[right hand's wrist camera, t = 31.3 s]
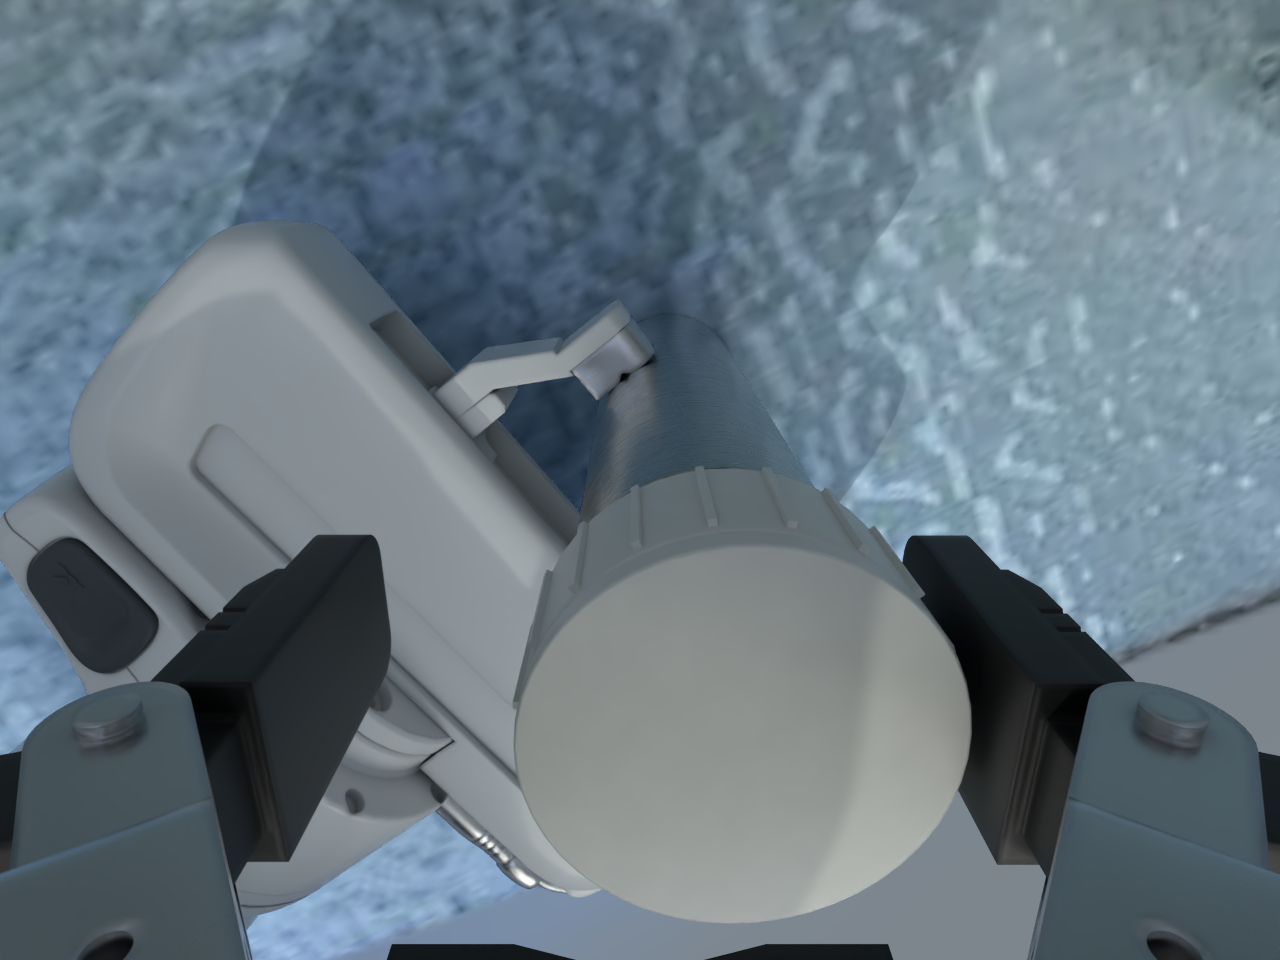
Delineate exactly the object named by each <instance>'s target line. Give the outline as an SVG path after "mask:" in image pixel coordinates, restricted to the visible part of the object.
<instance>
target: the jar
mask: <svg viewBox="0 0 1280 960" xmlns="http://www.w3.org/2000/svg"><path fill="white" fill-rule="evenodd" d="M638 324H639V325H640V327H641V328H642V329H643V331H644V332H645V333H646V335H647V336H648V337H649V339H650V340H651V341H652V343H653V344H654V346H655V347H654V350H655V353H654V355H653V356H652V357H651V358H650V359H649V360H648V361H647V362H646V363H645V364H644V365H642V366H641V367H640V368H638V369H637V370H635V371H633V372H632V373H622V374H621V378H620V381H619V384H618V385H617V386H616V387H614V388H613V389H612V390H610V391H609V392H608V393H606V394H605V395H604V396H603V397H601V398H600V400H599V406H598V412H597V418H596V424H595V430H594V436H593V442H592V448H591V454H590V460H589V466H588V472H587V478H586V484H585V490H584V496H583V502H582V508H581V514H580V520H579V525H580V524H581V523H582V522H583V521H585V522H586V523H587V524H588V523H589V522H590V521H591V520H592V519H593V518H594V517H595V516H596V515H598V514H599V513H600V512H602V511H603V510H604V509H605V508H607V507H608V506H609V505H611V504H612V503H613V502H615V501H617V500H619V499H620V498H622V497H624V496H625V495H627V494H629V493H630V491H631V487H633V486H635V485H637V484H638V485H639V487H640V488H641V487H643V486H646V485H648V484H650V483H653V482H655V481H658V480H661V479H664V478H668V477H671V476H675V475H678V474H682V473H687V472H694V471H695V467H698V466H703V467H704V470H707V469H733V468H736V469H746V470H757V471H762V468H763V467H766V468H771V469H772V471H773V473H774V474H777V475H781V476H785V477H788V478H791V479H794V480H796V481H799V482H802V483H805V484H807V485H810V486H812V487H813V488H814V486H813V484H812V483H811V481H810V480H809V478H808V476H807V475H806V473H805V472H804V470H803V468H802V467H801V465H800V464H799V462H798V461H797V459H796V457H795V456H794V454H793V453H792V451H791V449H790V448H789V446H788V445H787V443H786V441H785V440H784V438H783V437H782V435H781V433H780V432H779V430H778V429H777V427H776V426H775V424H774V422H773V421H772V419H771V418H770V416H769V414H768V413H767V411H766V410H765V408H764V406H763V405H762V403H761V402H760V400H759V398H758V397H757V395H756V394H755V392H754V391H753V389H752V387H751V386H750V384H749V383H748V381H747V379H746V378H745V376H744V375H743V373H742V371H741V370H740V368H739V367H738V365H737V363H736V362H735V360H734V359H733V357H732V356H731V354H730V352H729V351H728V349H727V348H726V346H725V344H724V343H723V341H722V340H721V339H720V338H719V336H718V335H717V334H716V333H715V332H714V331H713V330H712V329H710V328H709V327H708V326H706V325H705V324H703V323H701V322H699V321H698V320H695V319H693V318H690V317H686V316H682V315H674V314H667V315H658V316H653V317H650V318H647V319H644V320H642V321H640V322H638Z"/></svg>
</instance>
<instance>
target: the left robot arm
mask: <svg viewBox="0 0 1280 960" xmlns="http://www.w3.org/2000/svg"><path fill="white" fill-rule="evenodd" d="M654 347H655V346H654V344H653V343H652V341H651V340H650V339H649V337H648V336H647V335H646V333H645V332H644V331H643V329H642V328H641V327H640V325H639V324H638V323H637V321H636V320H635V319H634V317H633V316H632V315H630V312H629V311H628V310H627V308H626V307H625V306H624V305H623V303H622V302H621V301H620V300H619V299H617V300H615V301H613V302H612V303H610V304H609V305H607V306H606V307H605V308H604V309H602V310H601V311H600V312H599V313H598V314H596V315H595V316H594V317H593V318H591V319H590V320H589V321H588V322H586V323H585V324H584V325H583V326H581V327H580V328H579V329H578V330H576V331H575V332H574V333H573V334H571V335H570V336H569V337H568V338H567V339H565V340H563V339H562V338H561V337H557V338H549V339H542V340H535V341H528V342H521V343H514V344H506V345H499V346H492V347H486V348H485V349H484V350H483V351H481V352H480V353H479V354H478V355H477V356H475V357H474V358H473V359H472V360H471V361H469V362H468V363H467V364H466V365H464V366H463V367H462V368H461V369H460V370H458V371H457V372H456V371H455V370H454V369H453V368H452V367H451V365H450V364H449V363H448V362H447V361H446V360H445V359H444V358H443V356H442V355H441V354H440V353H439V352H438V351H437V350H436V348H435V347H434V346H433V345H432V344H431V343H430V342H429V340H428V339H427V338H426V337H425V336H424V335H423V334H422V333H421V331H420V330H419V329H418V328H417V327H416V326H415V325H414V323H413V322H412V321H411V320H410V319H409V318H408V317H407V315H406V314H405V313H404V312H403V311H402V310H401V309H400V308H399V306H398V305H397V304H396V303H395V302H394V301H393V300H392V298H391V297H390V296H389V295H388V294H387V293H386V292H385V291H384V289H383V288H382V287H381V286H380V285H379V284H378V283H377V281H376V280H375V279H374V278H373V277H372V276H371V275H370V274H369V272H368V271H367V270H366V269H365V268H364V267H363V266H362V264H361V263H360V262H359V261H358V260H357V259H356V258H355V256H354V255H353V254H352V253H351V252H350V251H349V250H348V248H347V247H346V246H345V245H344V244H343V243H342V241H341V240H340V239H339V238H338V237H337V236H336V235H335V234H334V233H333V232H332V231H331V230H329V229H328V228H327V227H325V226H322V225H320V224H316V223H306V222H296V221H286V220H265V221H254V222H247V223H243V224H239V225H236V226H232V227H229V228H227V229H225V230H223V231H221V232H219V233H218V234H216V235H215V236H213V237H212V238H210V239H209V240H207V241H206V242H205V243H204V244H203V245H202V246H201V247H200V248H199V249H198V250H197V251H195V252H194V253H193V254H192V255H191V256H190V257H189V258H188V259H187V260H186V261H185V262H184V263H183V264H182V265H181V266H180V267H179V268H178V269H177V271H176V272H175V273H174V274H173V275H172V276H171V277H170V278H169V279H168V280H167V281H166V282H165V283H164V285H163V286H162V287H161V288H160V289H159V290H158V291H157V292H156V293H155V295H154V296H153V297H152V298H151V299H150V300H149V302H148V303H147V304H146V305H145V306H144V308H143V309H142V310H141V311H140V312H139V313H138V315H137V316H136V317H135V318H134V320H133V321H132V322H131V323H130V325H129V326H128V327H127V328H126V330H125V331H124V332H123V333H122V335H121V336H120V337H119V339H118V340H117V341H116V342H115V344H114V345H113V347H112V348H111V349H110V351H109V352H108V354H107V355H106V356H105V358H104V359H103V361H102V362H101V363H100V365H99V366H98V368H97V369H96V370H95V372H94V373H93V375H92V376H91V378H90V379H89V381H88V382H87V384H86V386H85V387H84V389H83V391H82V393H81V395H80V397H79V399H78V401H77V404H76V406H75V409H74V412H73V415H72V419H71V424H70V429H69V451H70V457H71V461H72V464H71V465H70V466H68V467H66V468H65V469H63V470H62V471H60V472H58V473H57V474H55V475H53V476H52V477H50V478H49V479H48V480H46V481H45V482H43V483H42V484H40V485H39V486H38V487H36V488H35V489H34V490H32V491H31V492H29V493H28V494H27V495H25V496H24V497H22V498H21V499H20V500H19V501H17V502H16V503H15V504H14V505H12V506H11V507H10V508H9V509H8V510H7V511H6V512H5V513H4V514H3V515H2V516H1V517H0V559H1V561H2V562H3V564H4V566H5V567H6V569H7V570H8V572H9V573H10V575H11V576H12V577H13V579H14V580H15V582H16V583H17V584H18V586H19V587H20V588H21V590H22V591H23V593H24V594H25V595H26V597H27V598H28V600H29V601H30V602H31V604H32V605H33V607H34V608H35V609H36V611H37V612H38V614H39V615H40V617H41V618H42V620H43V621H44V622H45V624H46V625H47V627H48V628H49V630H50V631H51V633H52V634H53V636H54V637H55V639H56V640H57V642H58V643H59V645H60V647H61V648H62V650H63V651H64V653H65V654H66V656H67V658H68V659H69V661H70V663H71V664H72V666H73V668H74V669H75V671H76V673H77V674H78V676H79V678H80V680H81V681H82V683H83V685H84V687H85V689H86V691H87V692H88V694H89V695H90V694H92V693H95V692H98V691H101V690H104V689H107V688H111V687H115V686H119V685H124V684H130V683H136V682H147V681H149V682H150V681H151V680H152V679H153V678H154V677H155V676H156V675H157V674H158V673H159V672H160V671H161V670H162V669H163V668H164V667H165V666H166V665H167V664H168V663H169V662H170V661H171V660H172V659H173V658H174V657H175V656H176V655H177V654H178V653H179V652H180V651H181V650H182V649H183V648H184V646H185V645H186V644H187V643H188V642H189V641H190V640H191V639H192V638H193V637H194V636H195V635H196V634H197V633H198V632H199V631H200V630H205V625H206V624H207V623H208V622H209V621H210V620H211V619H212V618H213V617H214V616H215V615H216V614H217V613H218V612H223V607H224V606H225V605H226V604H227V603H228V602H229V601H230V600H231V599H232V598H233V597H234V596H235V595H236V594H237V593H238V592H239V591H240V590H241V589H242V588H243V587H244V586H246V585H248V584H250V583H251V582H253V581H255V580H257V579H259V578H261V577H262V576H264V575H266V574H268V573H270V572H272V571H273V570H275V569H285V568H286V566H287V565H288V564H289V563H290V562H291V561H292V560H293V559H294V558H295V557H296V556H297V555H298V554H299V553H300V551H301V550H302V549H303V548H304V547H305V546H306V545H307V544H308V543H309V542H310V541H311V540H312V539H313V538H314V537H315V536H316V535H373V536H374V537H375V538H376V540H377V542H378V544H379V548H380V553H381V560H382V567H383V575H384V583H385V591H386V598H387V606H388V614H389V622H390V629H391V654H390V661H389V666H388V670H387V673H386V676H385V678H384V680H383V682H382V684H381V686H380V688H379V690H378V692H377V694H376V695H375V697H374V699H373V701H372V703H371V705H370V707H369V709H368V711H367V713H366V715H365V717H364V719H363V720H362V722H361V724H360V726H359V728H358V730H357V732H356V734H355V736H354V738H353V740H352V742H351V744H350V745H349V747H348V749H347V751H346V753H345V755H344V757H343V759H342V761H341V763H340V765H339V767H338V769H337V770H336V772H335V774H334V776H333V778H332V780H331V782H330V784H329V786H328V788H327V790H326V792H325V794H324V795H323V797H322V799H321V801H320V803H319V805H318V807H317V809H316V811H315V813H314V815H313V817H312V818H311V820H310V822H309V824H308V826H307V828H306V830H305V832H304V834H303V836H302V838H301V840H300V842H299V843H298V845H297V847H296V849H295V851H294V853H293V855H292V857H291V859H290V861H289V862H247V864H246V865H245V867H244V869H243V870H242V872H241V874H240V876H239V877H238V879H237V881H236V882H235V884H236V888H237V892H238V896H239V900H240V905H241V909H242V913H243V918H244V922H245V927H246V930H247V929H248V928H249V927H250V925H251V924H252V923H253V922H254V920H255V919H256V918H257V916H258V915H260V914H264V913H268V912H272V911H275V910H278V909H281V908H283V907H286V906H288V905H291V904H293V903H295V902H297V901H299V900H301V899H303V898H305V897H307V896H308V895H310V894H312V893H313V892H315V891H317V890H318V889H320V888H321V887H322V886H324V885H325V884H327V883H328V882H330V881H331V880H333V879H334V878H336V877H337V876H339V875H340V874H342V873H343V872H344V871H346V870H347V869H349V868H350V867H352V866H353V865H355V864H356V863H358V862H359V861H361V860H362V859H364V858H365V857H367V856H368V855H370V854H371V853H373V852H374V851H376V850H378V849H379V848H381V847H382V846H384V845H385V844H387V843H388V842H389V841H391V840H392V839H394V838H395V837H397V836H398V835H400V834H401V833H403V832H404V831H406V830H407V829H409V828H410V827H412V826H413V825H415V824H416V823H418V822H419V821H421V820H422V819H424V818H425V817H426V816H428V815H429V814H431V813H432V812H434V811H435V812H436V813H437V814H438V815H439V816H441V817H442V818H443V819H444V820H445V821H446V822H447V823H448V824H449V825H451V826H452V827H453V828H454V829H455V830H456V831H457V832H458V833H459V834H461V835H462V836H463V837H465V838H466V839H467V840H468V841H470V842H472V843H473V844H475V845H476V846H478V847H479V848H480V849H482V850H484V852H486V853H487V854H488V855H490V857H491V858H492V859H493V860H495V861H496V864H497V866H498V867H499V869H500V870H501V871H502V872H503V873H504V874H505V875H506V876H507V877H508V878H509V879H511V880H512V881H513V882H515V883H516V884H518V885H520V886H522V887H524V888H526V889H532V888H534V887H536V886H537V885H539V886H541V887H543V888H545V889H548V890H551V891H553V892H559V893H567V894H569V895H570V896H572V897H576V898H580V897H584V896H588V895H591V894H594V893H596V892H598V891H599V890H601V888H600V887H598V886H597V885H595V884H594V883H592V882H591V881H590V880H588V879H587V878H585V877H584V876H582V875H581V874H580V873H579V872H577V871H576V870H575V869H574V868H573V867H572V866H571V865H570V864H569V863H568V862H566V861H565V860H564V859H563V858H562V857H561V856H560V855H559V854H558V852H557V851H556V850H555V849H554V848H553V846H552V845H551V844H550V843H549V842H548V840H547V839H546V838H545V837H544V835H543V833H542V832H541V830H540V829H539V827H538V825H537V824H536V822H535V821H534V819H533V817H532V815H531V813H530V810H529V808H528V806H527V804H526V801H525V799H524V797H523V794H522V791H521V787H520V784H519V780H518V776H517V772H516V766H515V757H514V747H513V743H514V726H515V717H516V712H517V709H512V704H513V698H514V694H515V690H516V686H517V681H518V677H519V673H520V669H521V665H522V661H523V656H524V652H525V648H526V644H527V640H528V635H529V631H530V627H531V624H533V620H534V615H535V611H536V607H537V603H538V599H539V594H540V590H541V586H542V582H543V578H544V574H545V572H546V570H550V571H553V569H554V567H555V566H556V564H557V562H558V560H559V558H560V557H561V555H562V553H563V552H564V551H565V549H566V548H567V547H568V545H569V544H570V543H571V541H572V540H573V539H574V537H575V536H576V535H577V530H578V525H579V520H580V514H581V513H580V512H579V511H578V510H577V509H576V507H575V506H574V505H573V504H572V503H571V502H570V501H569V499H568V498H567V497H566V496H565V495H564V494H563V493H562V492H561V490H560V489H559V488H558V487H557V486H556V485H555V484H554V482H553V481H552V480H551V479H550V478H549V477H548V476H547V474H546V473H545V472H544V471H543V470H542V469H541V468H540V467H539V465H538V464H537V463H536V462H535V461H534V460H533V459H532V457H531V456H530V455H529V454H528V453H527V452H526V451H525V449H524V448H523V447H522V446H521V445H520V444H519V443H518V442H517V440H516V439H515V438H514V437H513V436H512V435H511V434H510V432H509V431H508V430H507V429H506V428H505V427H504V426H503V425H502V423H501V422H500V421H499V420H498V419H497V418H499V417H500V416H501V415H502V414H504V413H505V412H506V410H507V408H508V407H509V405H510V403H511V402H512V400H513V398H514V397H515V395H516V393H517V392H518V385H522V384H528V383H535V382H541V381H547V380H553V379H559V378H565V377H571V376H574V375H575V376H576V377H577V378H578V379H579V380H580V382H581V383H582V384H583V385H584V386H585V387H586V388H587V390H588V391H589V392H590V393H591V394H592V395H593V397H594V398H595V399H596V400H599V399H600V398H601V397H603V396H604V395H605V394H606V393H608V392H609V391H610V390H612V389H613V388H614V387H616V386H617V385H618V384H619V381H620V378H621V374H622V373H632V372H633V371H635V370H637V369H638V368H640V367H641V366H642V365H644V364H645V363H646V362H647V361H648V360H649V359H650V358H651V357H652V356H653V355H654V353H655V350H654ZM24 742H25V740H24V741H23V742H22V743H21V744H20V745H18V746H17V747H16V748H15V749H13V750H12V751H11V752H10V753H14V752H19V751H22V748H23V745H24Z"/></svg>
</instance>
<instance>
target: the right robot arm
mask: <svg viewBox="0 0 1280 960" xmlns="http://www.w3.org/2000/svg"><path fill="white" fill-rule="evenodd" d="M903 565H904V566H905V567H906V569H907V570H908V571H909V573H910V574H911V575H912V577H913V578H914V579H915V581H916V582H917V583H918V585H919V586H920V588H921V589H922V590H923V592H924V593H925V595H924V596H923V597H921V598H920V599H921V600H922V602H923V603H924V605H925V606H926V607H927V609H928V610H929V611H930V613H931V614H932V616H933V617H934V618H935V620H936V621H937V623H938V624H939V625H940V627H941V628H942V630H943V631H944V632H945V634H946V635H947V637H948V638H949V639H950V641H951V642H952V643H953V645H954V647H955V650H956V655H957V657H958V659H959V662H960V665H961V667H962V670H963V673H964V676H965V679H966V681H967V686H968V692H969V697H970V703H971V717H972V736H971V743H970V750H969V757H968V761H967V765H966V768H965V771H964V775H963V778H962V782H961V784H960V786H959V788H958V791H959V793H960V795H961V797H962V799H963V800H964V802H965V804H966V806H967V808H968V810H969V812H970V814H971V815H972V817H973V819H974V821H975V823H976V825H977V827H978V829H979V831H980V833H981V835H982V836H983V838H984V840H985V842H986V844H987V846H988V848H989V850H990V852H991V854H992V855H993V857H994V859H995V861H996V863H997V864H998V865H1040V867H1041V868H1042V870H1043V872H1044V873H1045V875H1046V880H1045V884H1044V888H1043V892H1042V896H1041V900H1040V905H1039V909H1038V914H1037V918H1036V923H1035V927H1034V931H1033V936H1032V940H1031V945H1030V949H1029V954H1028V958H1027V960H1280V756H1276V755H1271V754H1266V753H1262V752H1258V748H1257V745H1256V742H1255V740H1254V739H1253V737H1252V735H1251V734H1250V733H1249V732H1248V731H1247V730H1246V728H1245V727H1244V726H1243V725H1241V724H1240V723H1239V722H1238V721H1237V720H1236V719H1235V718H1233V717H1232V716H1230V715H1229V714H1227V713H1226V712H1225V711H1223V710H1221V709H1219V708H1218V707H1216V706H1214V705H1213V704H1211V703H1208V702H1206V701H1204V700H1202V699H1200V698H1198V697H1195V696H1193V695H1190V694H1188V693H1185V692H1182V691H1179V690H1176V689H1173V688H1169V687H1165V686H1161V685H1156V684H1150V683H1144V682H1135V681H1134V680H1133V679H1132V678H1131V677H1130V676H1129V675H1128V674H1127V673H1126V672H1125V671H1124V670H1123V669H1122V668H1121V667H1120V666H1119V665H1118V664H1117V663H1116V662H1115V661H1114V660H1113V659H1112V658H1111V657H1110V656H1109V655H1108V654H1107V653H1106V652H1105V651H1104V650H1103V649H1102V648H1101V647H1100V646H1099V645H1098V644H1097V643H1096V642H1095V641H1094V640H1093V639H1092V638H1091V637H1090V636H1089V635H1088V634H1087V633H1086V632H1081V627H1080V626H1079V625H1078V624H1077V623H1076V622H1075V621H1074V620H1073V619H1072V618H1071V617H1070V616H1069V615H1068V614H1063V609H1062V608H1061V607H1060V606H1059V605H1058V604H1057V603H1056V602H1055V601H1054V600H1053V599H1052V598H1051V597H1050V596H1049V595H1048V594H1047V593H1046V592H1045V591H1044V590H1043V589H1042V588H1041V587H1039V586H1037V585H1035V584H1033V583H1031V582H1030V581H1028V580H1026V579H1024V578H1022V577H1020V576H1019V575H1017V574H1015V573H1013V572H1011V571H1009V570H1000V569H999V567H998V566H997V565H996V564H995V563H994V562H993V561H992V560H991V559H990V558H989V557H988V556H987V555H986V554H985V553H984V552H983V550H982V549H981V548H980V547H979V546H978V545H977V544H976V543H975V542H974V541H973V540H972V539H971V538H970V537H968V536H911V537H910V538H909V540H908V541H907V544H906V546H905V550H904V556H903ZM390 654H391V629H390V622H389V614H388V606H387V598H386V591H385V583H384V575H383V567H382V560H381V553H380V548H379V544H378V542H377V540H376V538H375V537H374V536H373V535H316V536H315V537H314V538H313V539H312V540H311V541H310V542H309V543H308V544H307V545H306V546H305V547H304V548H303V549H302V550H301V551H300V553H299V554H298V555H297V556H296V557H295V558H294V559H293V560H292V561H291V562H290V563H289V564H288V565H287V566H286V568H285V569H275V570H273V571H272V572H270V573H268V574H266V575H264V576H262V577H261V578H259V579H257V580H255V581H253V582H251V583H250V584H248V585H246V586H244V587H243V588H242V589H241V590H240V591H239V592H238V593H237V594H236V595H235V596H234V597H233V598H232V599H231V600H230V601H229V602H228V603H227V604H226V605H225V606H224V607H223V612H218V613H217V614H216V615H215V616H214V617H213V618H212V619H211V620H210V621H209V622H208V623H207V624H206V625H205V630H200V631H199V632H198V633H197V634H196V635H195V636H194V637H193V638H192V639H191V640H190V641H189V642H188V643H187V644H186V645H185V646H184V648H183V649H182V650H181V651H180V652H179V653H178V654H177V655H176V656H175V657H174V658H173V659H172V660H171V661H170V662H169V663H168V664H167V665H166V666H165V667H164V668H163V669H162V670H161V671H160V672H159V673H158V674H157V675H156V676H155V677H154V678H153V679H152V680H151V681H150V682H149V681H147V682H136V683H130V684H124V685H119V686H115V687H111V688H107V689H104V690H101V691H98V692H95V693H92V694H90V695H87V696H85V697H82V698H80V699H78V700H76V701H74V702H72V703H69V704H67V705H66V706H64V707H62V708H61V709H59V710H57V711H55V712H54V713H53V714H51V715H50V716H48V717H47V718H45V719H44V720H43V721H42V722H41V723H40V724H38V725H37V726H36V727H35V728H34V729H33V731H32V732H31V733H30V734H29V735H28V737H27V739H26V740H25V742H24V745H23V748H22V751H19V752H14V753H9V754H4V755H0V960H253V958H252V954H251V949H250V945H249V940H248V936H247V931H246V927H245V922H244V918H243V913H242V909H241V905H240V900H239V896H238V892H237V888H236V884H235V882H236V881H237V879H238V877H239V876H240V874H241V872H242V870H243V869H244V867H245V865H246V864H247V862H289V861H290V859H291V857H292V855H293V853H294V851H295V849H296V847H297V845H298V843H299V842H300V840H301V838H302V836H303V834H304V832H305V830H306V828H307V826H308V824H309V822H310V820H311V818H312V817H313V815H314V813H315V811H316V809H317V807H318V805H319V803H320V801H321V799H322V797H323V795H324V794H325V792H326V790H327V788H328V786H329V784H330V782H331V780H332V778H333V776H334V774H335V772H336V770H337V769H338V767H339V765H340V763H341V761H342V759H343V757H344V755H345V753H346V751H347V749H348V747H349V745H350V744H351V742H352V740H353V738H354V736H355V734H356V732H357V730H358V728H359V726H360V724H361V722H362V720H363V719H364V717H365V715H366V713H367V711H368V709H369V707H370V705H371V703H372V701H373V699H374V697H375V695H376V694H377V692H378V690H379V688H380V686H381V684H382V682H383V680H384V678H385V676H386V673H387V670H388V666H389V661H390ZM387 960H574V959H570V958H566V957H562V956H558V955H554V954H550V953H546V952H542V951H539V950H534V949H531V948H527V947H523V946H519V945H515V944H392V946H391V949H390V952H389V955H388V958H387ZM706 960H893V958H892V955H891V952H890V949H889V946H888V944H765V945H761V946H757V947H754V948H749V949H746V950H742V951H738V952H734V953H730V954H726V955H722V956H718V957H714V958H710V959H706Z"/></svg>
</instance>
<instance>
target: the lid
mask: <svg viewBox="0 0 1280 960" xmlns="http://www.w3.org/2000/svg"><path fill="white" fill-rule="evenodd" d="M924 595H925V593H924V592H923V590H922V589H921V588H920V586H919V585H918V583H917V582H916V581H915V579H914V578H913V577H912V575H911V574H910V573H909V571H908V570H907V569H906V567H905V566H904V565H903V563H902V562H901V560H900V559H899V558H898V556H897V555H896V554H895V552H894V551H893V550H892V548H891V547H890V546H889V544H888V543H887V542H886V540H885V539H884V538H883V536H882V535H881V533H880V532H879V531H878V530H877V528H876V527H875V526H873V527H872V528H870V529H868V528H867V526H866V525H865V524H864V523H863V522H862V521H860V520H859V519H858V518H857V517H856V516H855V515H854V514H853V513H852V512H851V511H850V510H849V509H847V508H846V507H845V506H843V505H842V504H840V502H839V501H838V499H837V498H836V497H835V495H834V494H833V492H832V491H831V490H829V489H827V488H825V489H824V490H823V492H821V491H819V490H817V489H815V488H813V487H812V486H810V485H807V484H805V483H802V482H799V481H796V480H794V479H791V478H788V477H785V476H781V475H777V474H774V473H773V471H772V469H771V468H766V467H763V468H762V471H757V470H746V469H736V468H733V469H707V470H704V467H703V466H698V467H695V471H694V472H687V473H682V474H678V475H675V476H671V477H668V478H664V479H661V480H658V481H655V482H653V483H650V484H648V485H646V486H643V487H641V488H640V487H639V485H638V484H637V485H635V486H633V487H631V491H630V493H629V494H627V495H625V496H624V497H622V498H620V499H619V500H617V501H615V502H613V503H612V504H611V505H609V506H608V507H607V508H605V509H604V510H603V511H602V512H600V513H599V514H598V515H596V516H595V517H594V518H593V519H592V520H591V521H590V522H589V523H588V524H587V523H586V522H585V521H583V522H582V523H581V524H580V525H578V530H577V535H576V536H575V537H574V539H573V540H572V541H571V543H570V544H569V545H568V547H567V548H566V549H565V551H564V552H563V553H562V555H561V557H560V558H559V560H558V562H557V564H556V566H555V567H554V569H553V571H550V570H546V572H545V574H544V578H543V582H542V586H541V590H540V594H539V599H538V603H537V607H536V611H535V615H534V620H533V624H531V627H530V631H529V635H528V640H527V644H526V648H525V652H524V656H523V661H522V665H521V669H520V673H519V677H518V681H517V686H516V690H515V694H514V698H513V704H512V709H517V712H516V717H515V726H514V743H513V747H514V757H515V766H516V772H517V776H518V780H519V784H520V787H521V791H522V794H523V797H524V799H525V801H526V804H527V806H528V808H529V810H530V813H531V815H532V817H533V819H534V821H535V822H536V824H537V825H538V827H539V829H540V830H541V832H542V833H543V835H544V837H545V838H546V839H547V840H548V842H549V843H550V844H551V845H552V846H553V848H554V849H555V850H556V851H557V852H558V854H559V855H560V856H561V857H562V858H563V859H564V860H565V861H566V862H568V863H569V864H570V865H571V866H572V867H573V868H574V869H575V870H576V871H577V872H579V873H580V874H581V875H582V876H584V877H585V878H587V879H588V880H590V881H591V882H592V883H594V884H595V885H597V886H598V887H600V888H601V889H603V890H605V891H607V892H609V893H611V894H612V895H614V896H616V897H618V898H620V899H622V900H624V901H626V902H629V903H631V904H634V905H636V906H639V907H641V908H644V909H646V910H649V911H653V912H656V913H660V914H663V915H667V916H671V917H675V918H681V919H687V920H693V921H699V922H712V923H754V922H762V921H770V920H778V919H783V918H788V917H792V916H796V915H801V914H805V913H808V912H812V911H815V910H817V909H820V908H823V907H826V906H829V905H832V904H835V903H837V902H839V901H841V900H843V899H846V898H848V897H850V896H852V895H855V894H857V893H858V892H860V891H862V890H864V889H865V888H867V887H869V886H870V885H872V884H874V883H876V882H877V881H879V880H881V879H882V878H883V877H885V876H886V875H887V874H889V873H890V872H891V871H893V870H894V869H895V868H897V867H898V866H900V865H901V864H902V863H903V862H904V861H905V860H906V859H907V858H908V857H910V856H911V855H912V854H913V853H914V852H915V851H916V850H917V849H918V848H919V847H920V846H921V845H922V844H923V843H924V841H925V840H926V839H927V838H928V837H929V835H930V834H931V833H932V832H933V831H934V830H935V828H936V827H937V826H938V824H939V823H940V821H941V819H942V818H943V816H944V815H945V813H946V812H947V810H948V809H949V807H950V805H951V803H952V801H953V799H954V797H955V795H956V793H957V790H958V788H959V786H960V784H961V782H962V778H963V775H964V771H965V768H966V765H967V761H968V757H969V750H970V743H971V736H972V717H971V703H970V697H969V692H968V686H967V681H966V679H965V676H964V673H963V670H962V667H961V665H960V662H959V659H958V657H957V655H956V650H955V647H954V645H953V643H952V642H951V641H950V639H949V638H948V637H947V635H946V634H945V632H944V631H943V630H942V628H941V627H940V625H939V624H938V623H937V621H936V620H935V618H934V617H933V616H932V614H931V613H930V611H929V610H928V609H927V607H926V606H925V605H924V603H923V602H922V600H921V599H920V598H921V597H923V596H924Z"/></svg>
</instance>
